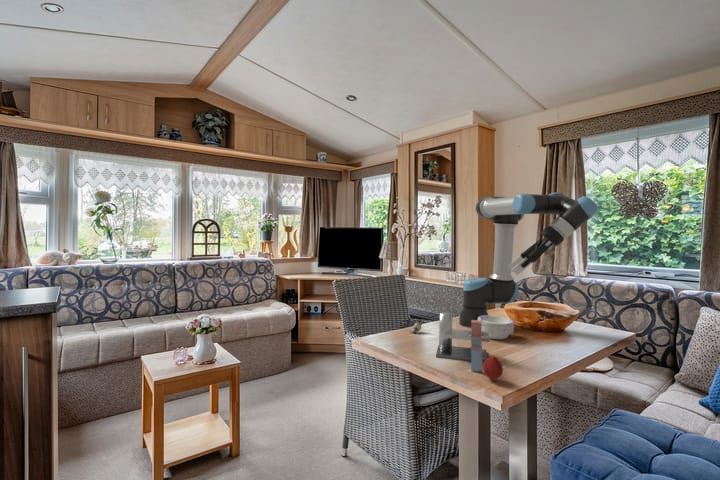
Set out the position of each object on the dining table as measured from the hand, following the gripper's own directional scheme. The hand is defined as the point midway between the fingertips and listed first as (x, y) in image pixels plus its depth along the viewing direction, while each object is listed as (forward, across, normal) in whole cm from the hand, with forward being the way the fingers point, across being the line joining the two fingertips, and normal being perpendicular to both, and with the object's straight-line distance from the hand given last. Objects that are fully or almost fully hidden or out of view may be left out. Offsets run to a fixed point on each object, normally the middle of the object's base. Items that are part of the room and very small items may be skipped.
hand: (511, 271), depth 135 cm
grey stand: (+35, -13, -10) cm, 38 cm away
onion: (+28, -29, -17) cm, 44 cm away
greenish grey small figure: (+49, +17, +4) cm, 52 cm away
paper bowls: (+25, +23, -20) cm, 39 cm away
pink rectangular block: (+31, -8, -13) cm, 34 cm away
